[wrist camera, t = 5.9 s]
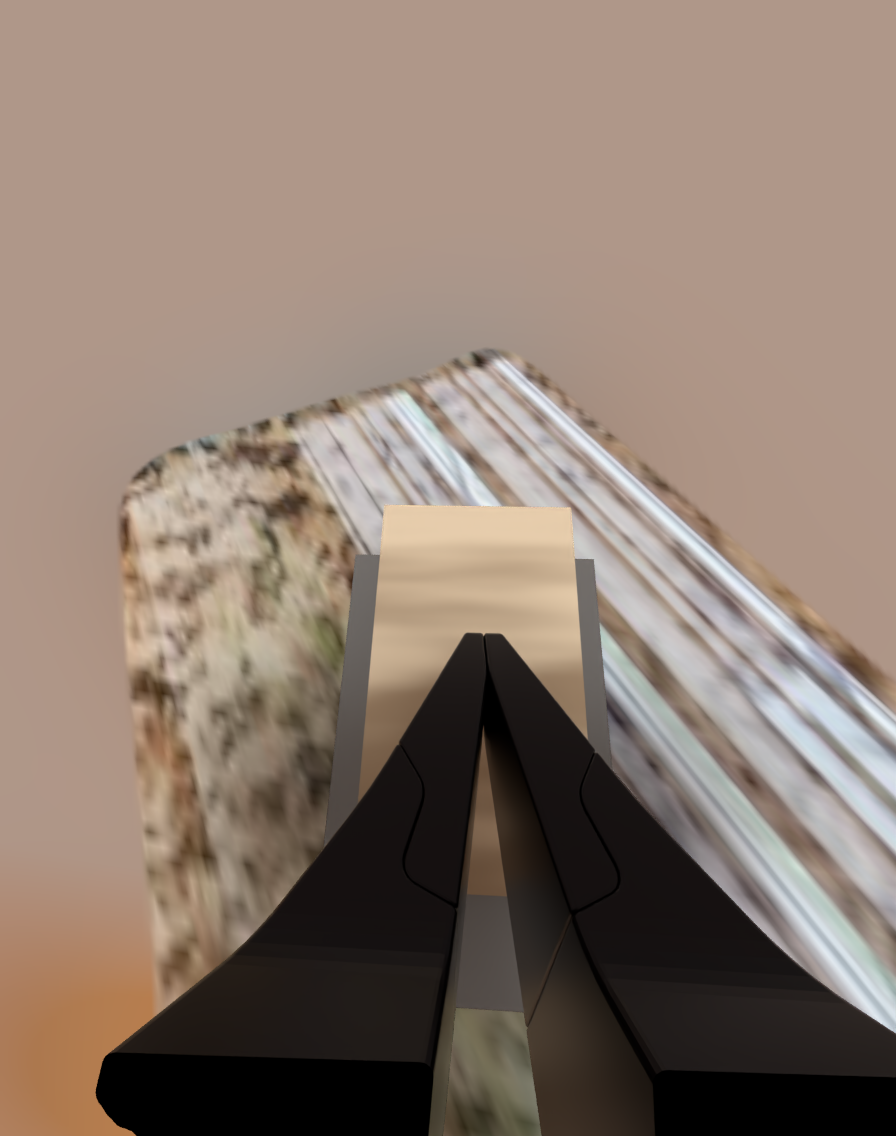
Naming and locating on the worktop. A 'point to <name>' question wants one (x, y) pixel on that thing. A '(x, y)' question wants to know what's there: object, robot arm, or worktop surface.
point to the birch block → (470, 626)
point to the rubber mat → (487, 918)
